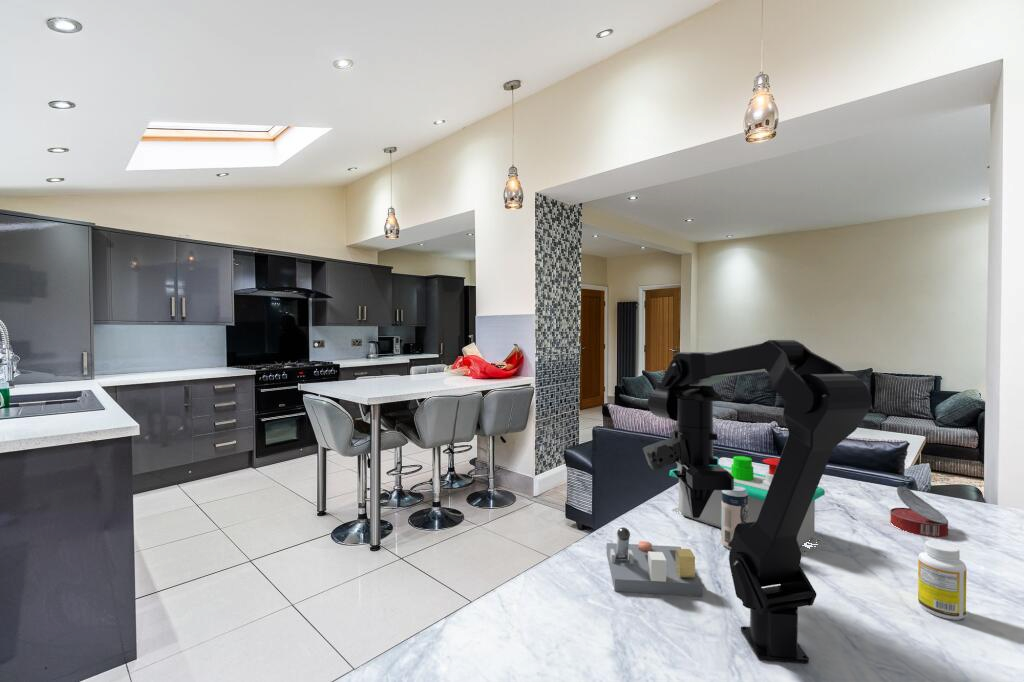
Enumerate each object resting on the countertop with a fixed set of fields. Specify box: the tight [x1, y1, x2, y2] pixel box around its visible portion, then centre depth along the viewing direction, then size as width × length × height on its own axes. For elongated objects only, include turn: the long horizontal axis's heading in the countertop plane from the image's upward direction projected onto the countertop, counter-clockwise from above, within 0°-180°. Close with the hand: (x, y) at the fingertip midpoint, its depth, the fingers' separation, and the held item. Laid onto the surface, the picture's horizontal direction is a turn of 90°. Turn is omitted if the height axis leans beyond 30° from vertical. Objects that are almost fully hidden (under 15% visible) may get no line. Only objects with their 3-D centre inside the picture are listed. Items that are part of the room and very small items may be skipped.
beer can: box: [720, 485, 748, 550], centre depth 96 cm, size 5×5×12 cm
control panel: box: [669, 455, 826, 555], centre depth 108 cm, size 15×16×30 cm
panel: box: [606, 540, 703, 597], centre depth 85 cm, size 14×14×3 cm
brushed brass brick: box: [675, 548, 696, 578], centre depth 81 cm, size 3×2×4 cm
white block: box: [648, 551, 666, 582], centre depth 79 cm, size 3×2×4 cm
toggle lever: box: [616, 527, 631, 560], centre depth 85 cm, size 2×2×7 cm
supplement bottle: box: [917, 540, 967, 621], centre depth 74 cm, size 6×6×10 cm
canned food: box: [890, 485, 949, 538], centre depth 107 cm, size 11×10×10 cm
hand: (695, 517), depth 81 cm, fingers closed
